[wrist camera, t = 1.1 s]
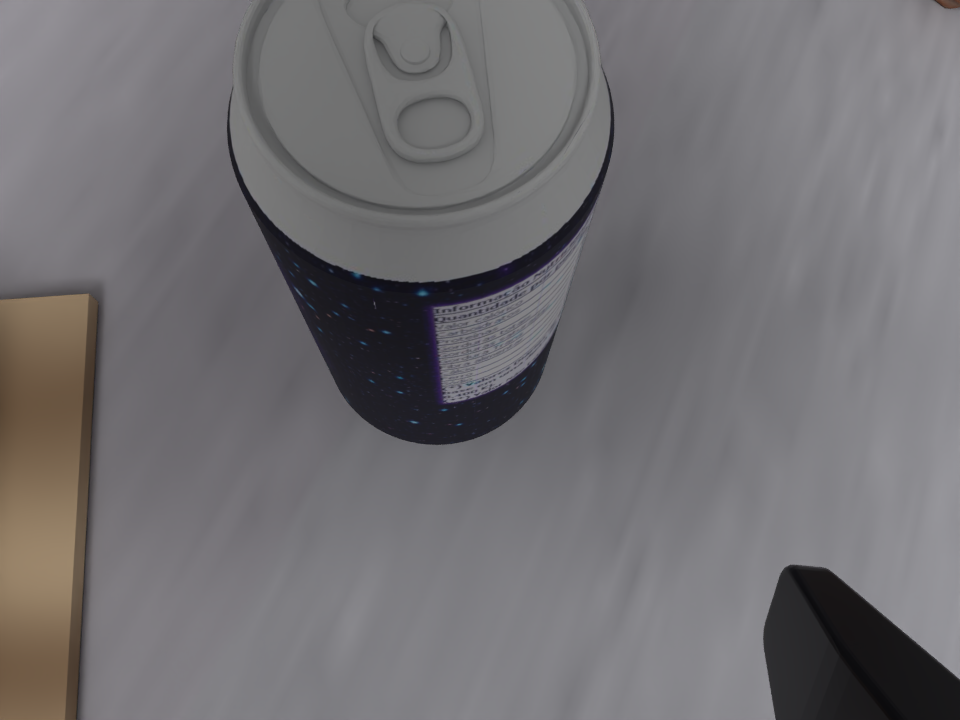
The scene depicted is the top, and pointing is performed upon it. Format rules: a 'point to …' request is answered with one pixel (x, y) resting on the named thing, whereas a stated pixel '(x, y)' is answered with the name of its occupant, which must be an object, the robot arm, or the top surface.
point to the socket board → (43, 499)
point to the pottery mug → (949, 3)
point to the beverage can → (424, 191)
